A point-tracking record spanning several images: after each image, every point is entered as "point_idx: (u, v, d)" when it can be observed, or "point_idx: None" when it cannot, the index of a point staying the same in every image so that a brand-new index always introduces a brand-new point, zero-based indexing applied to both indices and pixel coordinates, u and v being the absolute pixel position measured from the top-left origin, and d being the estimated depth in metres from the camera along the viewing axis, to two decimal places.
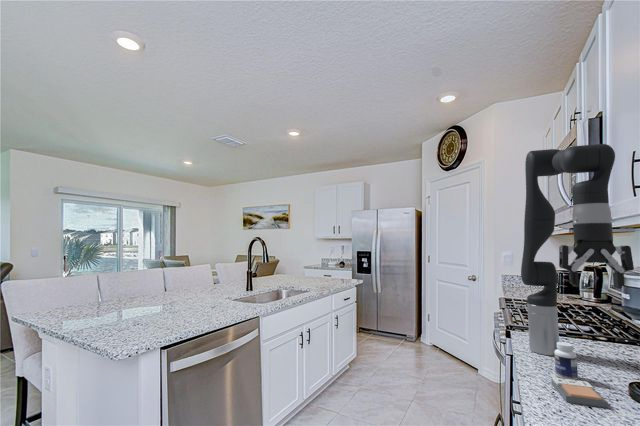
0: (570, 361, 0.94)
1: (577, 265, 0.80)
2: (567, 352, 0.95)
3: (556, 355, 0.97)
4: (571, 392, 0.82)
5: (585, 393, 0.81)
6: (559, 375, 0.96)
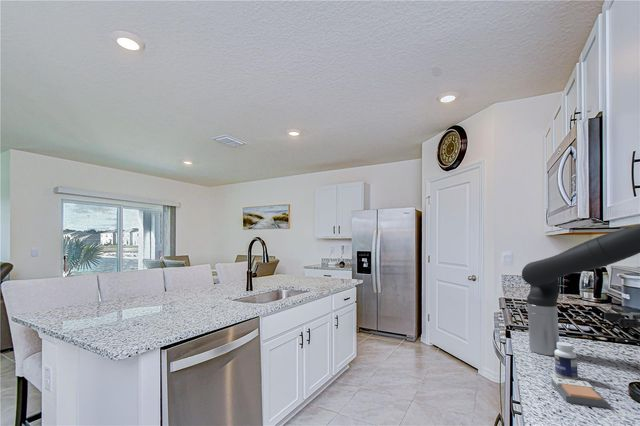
0: (570, 361, 0.94)
1: None
2: (567, 352, 0.95)
3: (556, 355, 0.97)
4: (571, 392, 0.82)
5: (585, 393, 0.81)
6: (559, 375, 0.96)
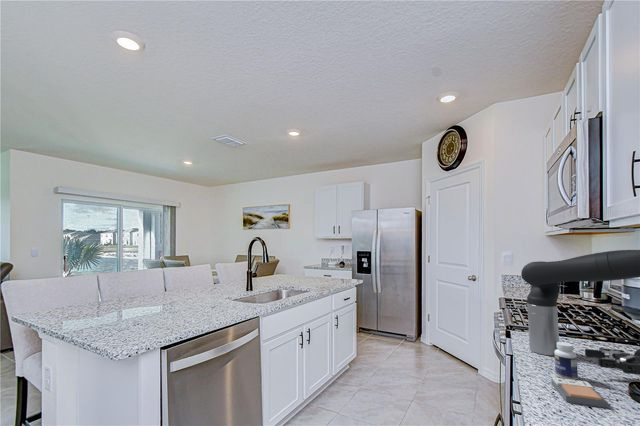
0: (570, 361, 0.94)
1: None
2: (567, 352, 0.95)
3: (556, 355, 0.97)
4: (571, 392, 0.82)
5: (585, 393, 0.81)
6: (559, 375, 0.96)
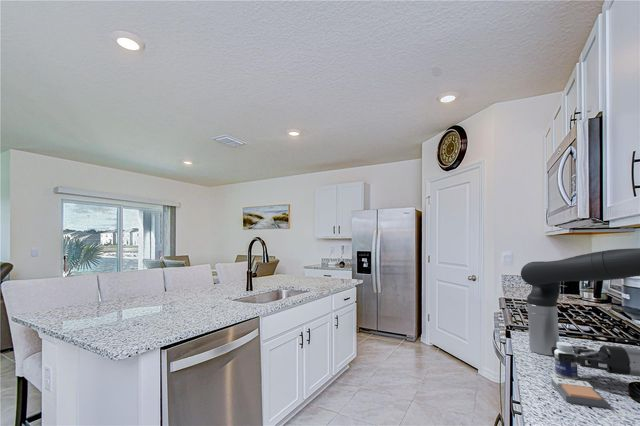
0: None
1: None
2: (566, 352, 0.95)
3: (556, 355, 0.97)
4: (571, 392, 0.82)
5: (585, 393, 0.81)
6: (559, 375, 0.96)
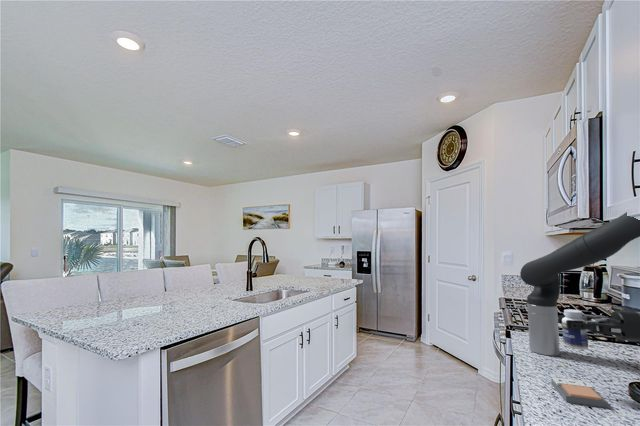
0: None
1: None
2: (575, 319, 0.87)
3: (564, 323, 0.89)
4: (571, 392, 0.82)
5: (585, 393, 0.81)
6: (568, 344, 0.88)
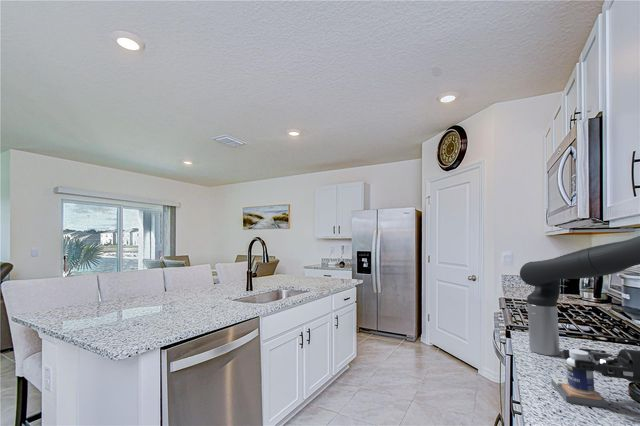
0: (585, 372, 0.81)
1: None
2: None
3: (569, 365, 0.84)
4: (571, 392, 0.82)
5: None
6: (572, 388, 0.82)
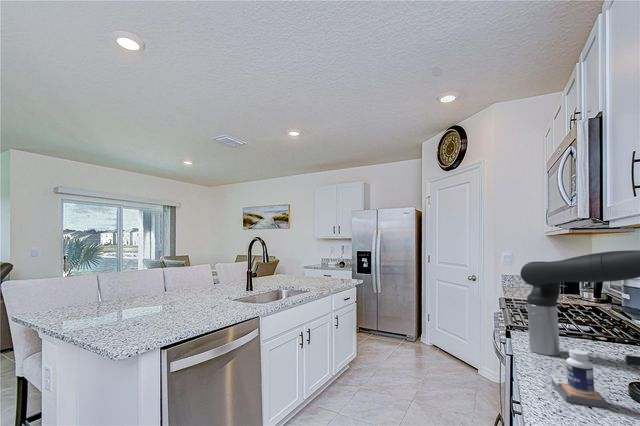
0: (585, 372, 0.81)
1: None
2: (581, 361, 0.82)
3: (569, 365, 0.84)
4: (571, 392, 0.82)
5: None
6: (572, 388, 0.82)
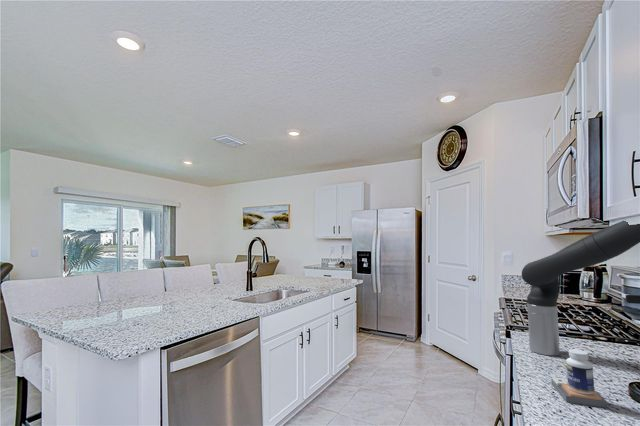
0: (585, 372, 0.81)
1: None
2: (581, 361, 0.82)
3: (569, 365, 0.84)
4: (571, 392, 0.82)
5: None
6: (572, 388, 0.82)
